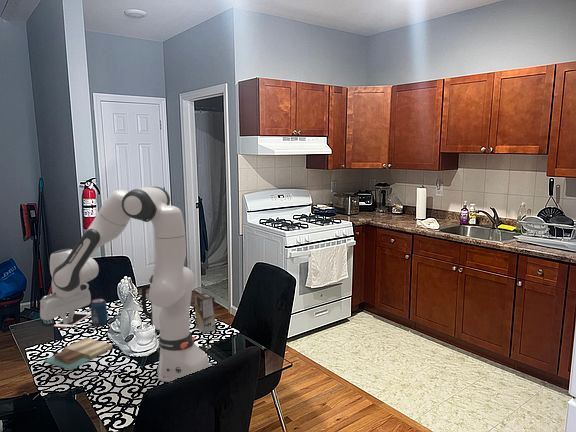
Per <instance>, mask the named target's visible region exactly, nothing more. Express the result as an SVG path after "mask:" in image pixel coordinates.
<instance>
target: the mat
mask: <svg viewBox="0 0 576 432" xmlns="http://www.w3.org/2000/svg"><path fill="white" fill-rule="evenodd" d="M90 361H91V360H90V359H87V358H84V357H83V358H82V359H80V360H78V361H75V362H73V363H71V364H67V363H64V362H61V361H58V360H55V356H54V355H53V356H50V357H48V358H46V359H44V360H43V362H44V363H47V364H49V365H53V366H54V367H55V366H56V367H59V368H62V369H65V370H69V371H73V370H75V369H76V367H77V368H78V366H79V367H80V365H81V366H83V365H85V364H86V363H88V362H90ZM84 363H85V364H84ZM82 364H83V365H82Z"/></svg>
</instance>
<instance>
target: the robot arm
mask: <svg viewBox="0 0 576 432" xmlns="http://www.w3.org/2000/svg"><path fill="white" fill-rule="evenodd" d="M131 219H135V220H139V221H142V222H145V223H148V222H151V223H152V225H153V235H154V250H155V252H154V253H155V255H154V256H155V258H154V259H155V261H154V269H153V274H152V275H153V280H152V284H151V287H150V288H149V291H148V299H149V301H150V303H151V302H152V304H154V305H155V306H157V307H159V308H162V309H161V312H160V315H159V325H160V330H159V335H158V346H159V349H160V350H159V361H158V365H157V370H156V372H157V375H158V376H157V380H158V381H161V382H168V383H171V382H170V381H173V380H175V379H177V378H180V377H183V376H186V375H189V374H192V373H195V372H197V371H200V370H202V369H205V368H207V367H209V366H212V364H211V363H210V361H209V356H208V354H207V353H206V352H204V350H203V349H201V347H199V346H198V345H197V344H196V343H195V340H196V336H192V333H191V331H190V327H191V326H190V309H191V302H192V293H193V286H194V281H195V274H194V272H193V271H192V270H191V269H190V268H189V267H186V266H184V265H185V261H186V258H187V242H186V238H187V237H186V228H185V222H184V221H185V220H184V216H183V213H182V210H181V209H180V208H179V207H177V206H175V205H171V197H170V195H169V193H168V191H167V190H166V189H164V187H163V188H162V187H159V186H143V187H139V188H134V189H132V190H131V189H130V191H128V190H125V189H116V190H114V191H112V192H111V193H110V194H109V196H108V197H107V199H105V201H104V202H103V204H102V206H101V207H100V209H99V211H98V212H97V214H96V216H95V217H94V218H93V220H92V222H91V223H90V225H89V226H88V228H87V229H86V230H85V232H84V233H83V234H82V235H81V237H80V238H79V240H78V241H77V243H76V244H75V246H74V247H73V249H72V248H64V249H59V250H56V251H54V252H52V253H51V254H50V257H49V271H50V272H49V273H50V275H51V292H52V293H50V294H48V295H43V296H42V297H41V299H40V301H39V303H40V304H39V305H40V308H39V309H40V310H39V316H40V319H42V320H44V321H50V320H53V319H55V318H57V317H60V318H61V319H62V320H63V323H64V324H67V323H70V322H72V321H73V318H72V317H73V315H74V313H76V312H75V311H76V310H79V309H82V308H84V307H86V306H89V305H91V303H92V298H91V297H92V296H91V292H90V289H89V288H90V285H89V283H88V282H90V281H92V280H94V279H96V277H98V275H99V272H100V266H99V264H98V262H97V260H95V259H94V258H93V257H92V255H93V254H94V252H95V251H96V250H98V249H99V248H101V247H102V246H104V245H106V244H107V243H110V242H111V241H114V240H115V239H117V238H118V237H119V236H120V235H121V234H122V233H123V232H124V230H125V229H126V227H127V225H128V224H129V222H130V221H131ZM67 314H68V318H67V317H66V316H67Z"/></svg>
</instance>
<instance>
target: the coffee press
mask: <svg viewBox="0 0 576 432" xmlns="http://www.w3.org/2000/svg"><path fill="white" fill-rule="evenodd" d="M152 280H153V274H152V275H151V276H150V278H149V280H148V282H149V284H146V285H144V286H143V287H142V289H141V306H142V312H143V313H144V315H145V316H147V317H148V318H151V326H153V325H154V326H155V328H156V329H155V330H157V331H160V325H159V315H160V312H161V309H162V308H159V307H157V306H155V305H154V304H152V302H151V301H150V312H149V310H148V308H147V290H148V289H150V287H151V284H152Z"/></svg>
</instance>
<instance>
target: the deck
mask: <svg viewBox="0 0 576 432" xmlns="http://www.w3.org/2000/svg"><path fill="white" fill-rule="evenodd" d="M112 348H113V344H112V343H107V342H104V341H100V340H98V339H97V340H96V339H93V338H89V337H84V338H82V339H79V340H78V341H75V342H73V343H71V344H69V345H67V346H64V347H63V351H64V350H66V349H71V350H74V351H77V352H80V353H83V357H84V358H87V359H90V361H92V360H94V359H96V358H98V357H100V356H102V355H103V353H104V354H105V352H106V351H108V350H110V349H112ZM112 350H113V349H112ZM110 351H111V350H110ZM108 352H109V351H108ZM106 353H107V352H106ZM101 354H102V355H101ZM99 355H100V356H99ZM97 356H98V357H97ZM93 358H94V359H93Z"/></svg>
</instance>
